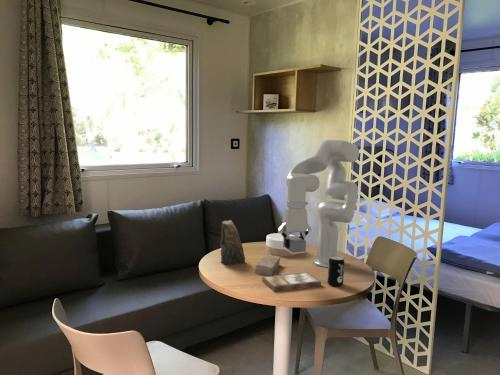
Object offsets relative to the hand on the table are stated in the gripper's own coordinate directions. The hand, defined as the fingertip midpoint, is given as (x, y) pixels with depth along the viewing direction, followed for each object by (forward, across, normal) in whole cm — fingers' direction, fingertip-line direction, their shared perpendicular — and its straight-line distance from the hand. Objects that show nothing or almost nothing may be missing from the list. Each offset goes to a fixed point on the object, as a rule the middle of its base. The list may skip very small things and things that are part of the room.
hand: (294, 246), depth 166 cm
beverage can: (+17, -18, +6) cm, 25 cm away
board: (+16, +1, 0) cm, 16 cm away
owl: (+17, +16, -35) cm, 42 cm away
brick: (+17, +3, -20) cm, 26 cm away
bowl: (+17, -16, -45) cm, 51 cm away
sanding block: (+2, 0, 0) cm, 2 cm away
